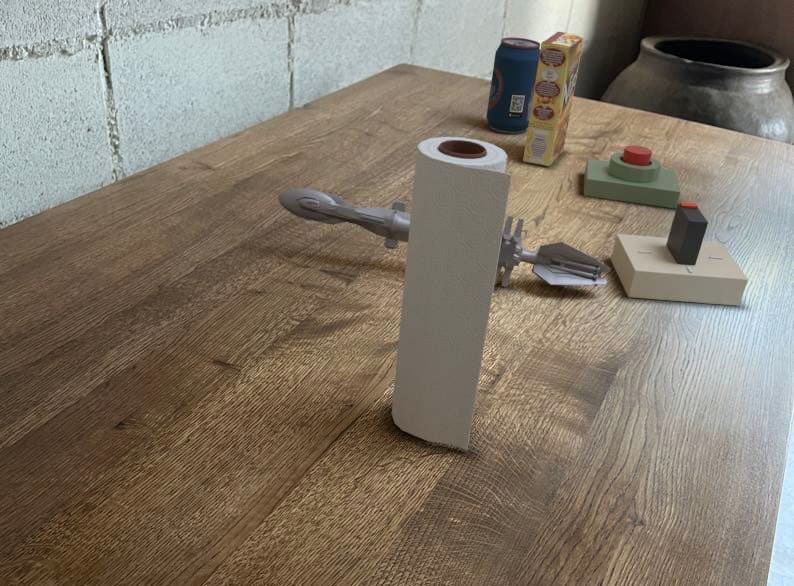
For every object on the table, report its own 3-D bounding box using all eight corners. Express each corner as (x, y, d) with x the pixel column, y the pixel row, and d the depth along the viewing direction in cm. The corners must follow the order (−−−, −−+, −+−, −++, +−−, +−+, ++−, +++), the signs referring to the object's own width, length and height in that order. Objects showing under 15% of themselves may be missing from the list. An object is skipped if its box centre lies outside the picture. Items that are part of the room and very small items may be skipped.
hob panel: (713, 267, 105) (722, 240, 103) (739, 306, 97) (749, 277, 95) (610, 259, 104) (616, 232, 102) (627, 297, 97) (635, 268, 95)
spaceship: (292, 160, 97) (279, 152, 90) (612, 237, 98) (626, 235, 90) (278, 237, 100) (264, 235, 92) (591, 312, 100) (603, 316, 92)
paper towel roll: (392, 398, 77) (417, 129, 63) (464, 404, 77) (505, 137, 63) (389, 446, 71) (417, 162, 58) (467, 452, 71) (512, 171, 58)
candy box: (549, 168, 128) (572, 46, 119) (520, 162, 129) (540, 41, 120) (563, 151, 135) (586, 35, 125) (536, 146, 136) (556, 30, 126)
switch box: (671, 186, 126) (679, 156, 124) (675, 208, 119) (684, 177, 117) (584, 174, 127) (590, 144, 125) (583, 195, 120) (590, 164, 118)
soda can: (481, 120, 144) (493, 34, 136) (524, 123, 145) (538, 38, 137) (489, 133, 139) (502, 45, 131) (534, 136, 140) (549, 48, 132)
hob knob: (695, 265, 97) (709, 220, 94) (677, 263, 97) (690, 218, 94) (683, 246, 101) (696, 202, 98) (665, 245, 101) (678, 201, 98)
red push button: (648, 161, 122) (651, 147, 121) (649, 169, 120) (653, 155, 118) (621, 157, 123) (624, 143, 122) (621, 165, 120) (625, 151, 119)
